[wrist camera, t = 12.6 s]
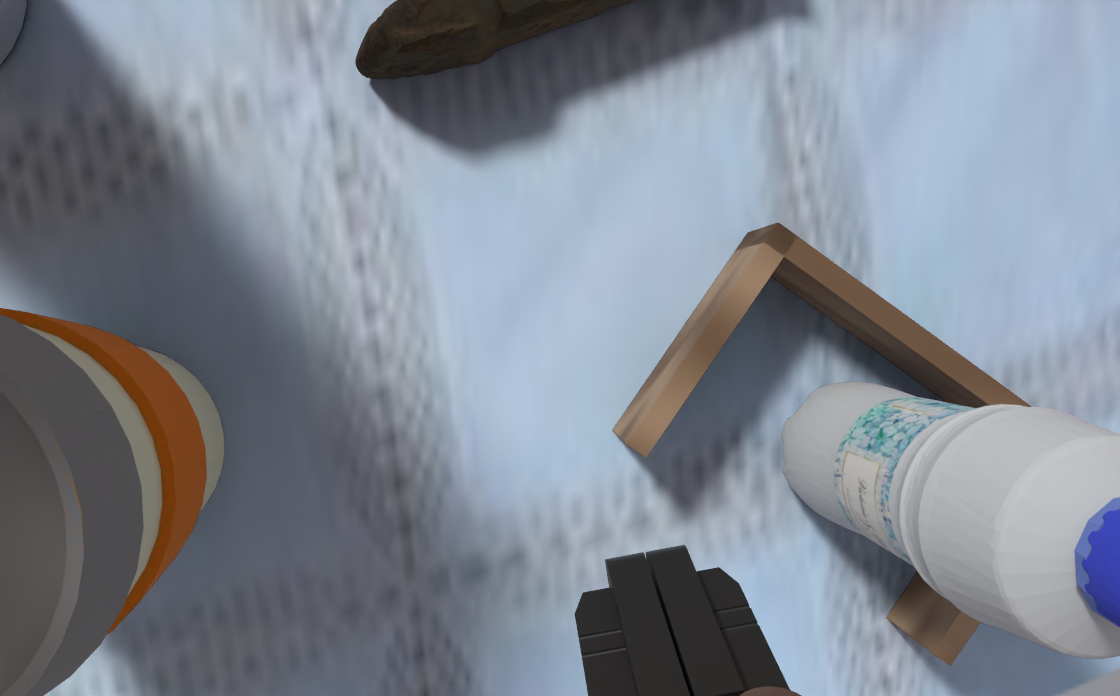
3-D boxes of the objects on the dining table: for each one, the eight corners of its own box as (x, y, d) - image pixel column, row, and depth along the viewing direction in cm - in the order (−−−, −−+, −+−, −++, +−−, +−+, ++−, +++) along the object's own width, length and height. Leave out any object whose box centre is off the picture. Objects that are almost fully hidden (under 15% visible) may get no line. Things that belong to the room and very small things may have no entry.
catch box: (902, 628, 38) (950, 665, 34) (612, 430, 36) (626, 444, 32) (1032, 438, 38) (1095, 452, 34) (747, 232, 36) (778, 222, 32)
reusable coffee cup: (46, 252, 34) (-307, 203, 19) (315, 380, 35) (180, 427, 20) (-83, 514, 34) (-536, 669, 19) (190, 633, 35) (-37, 868, 20)
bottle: (740, 411, 37) (1028, 527, 17) (868, 348, 37) (1298, 388, 17) (799, 539, 37) (1147, 799, 17) (925, 476, 37) (1408, 659, 18)
